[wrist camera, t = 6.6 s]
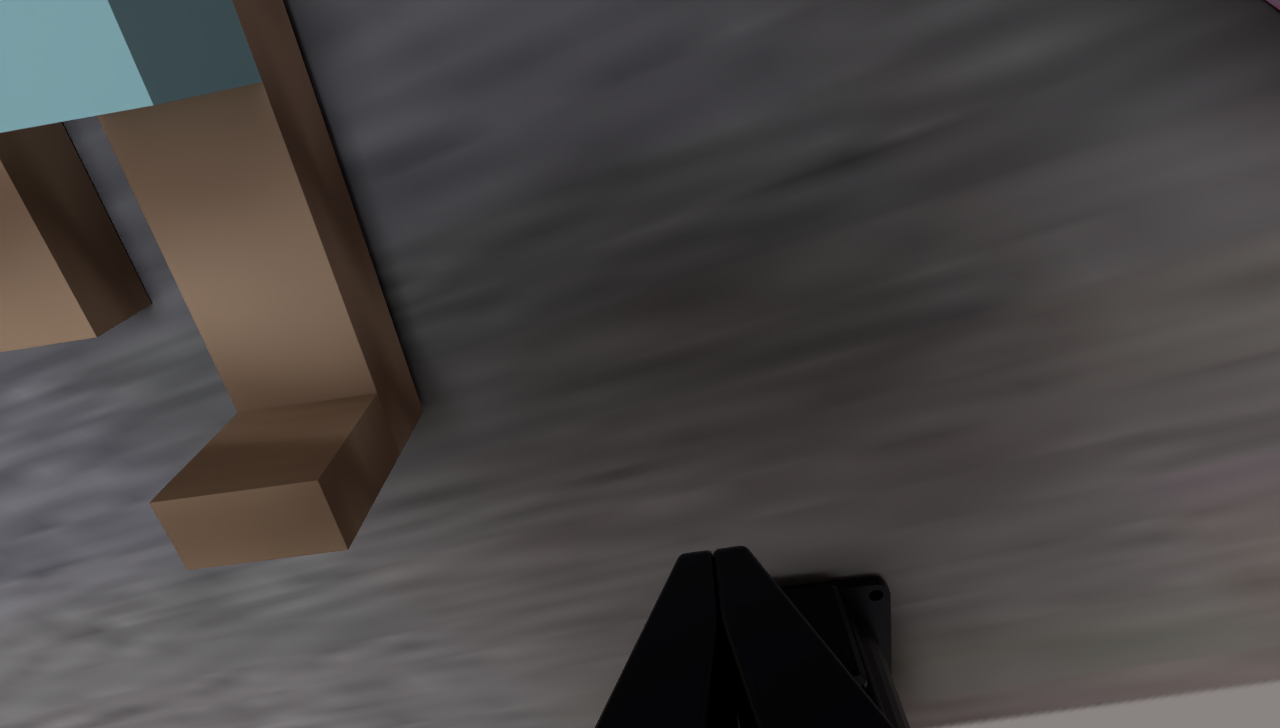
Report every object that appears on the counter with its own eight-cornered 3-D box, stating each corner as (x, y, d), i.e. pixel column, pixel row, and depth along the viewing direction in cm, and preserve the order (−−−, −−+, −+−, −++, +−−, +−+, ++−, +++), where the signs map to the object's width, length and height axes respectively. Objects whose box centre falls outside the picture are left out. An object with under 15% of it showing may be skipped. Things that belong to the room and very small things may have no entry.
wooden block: (422, 411, 23) (348, 549, 17) (301, 428, 23) (188, 569, 17) (206, -223, 16) (-46, -351, 10) (35, -186, 16) (-306, -290, 10)
